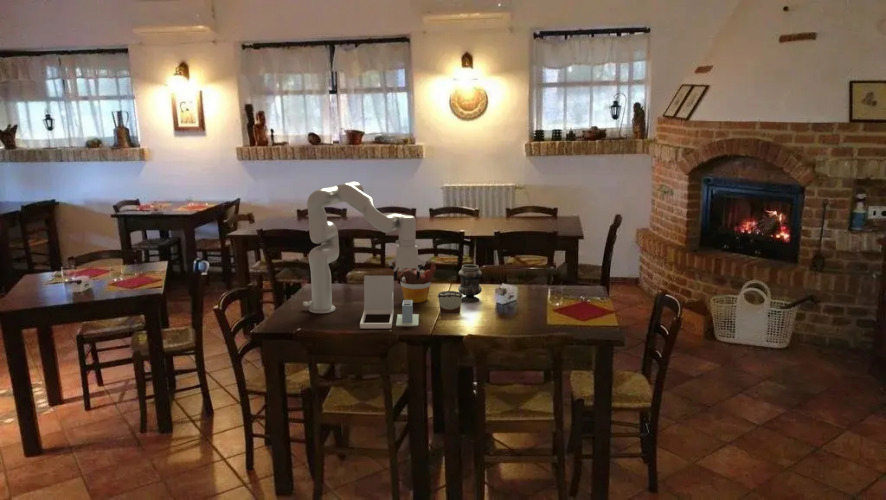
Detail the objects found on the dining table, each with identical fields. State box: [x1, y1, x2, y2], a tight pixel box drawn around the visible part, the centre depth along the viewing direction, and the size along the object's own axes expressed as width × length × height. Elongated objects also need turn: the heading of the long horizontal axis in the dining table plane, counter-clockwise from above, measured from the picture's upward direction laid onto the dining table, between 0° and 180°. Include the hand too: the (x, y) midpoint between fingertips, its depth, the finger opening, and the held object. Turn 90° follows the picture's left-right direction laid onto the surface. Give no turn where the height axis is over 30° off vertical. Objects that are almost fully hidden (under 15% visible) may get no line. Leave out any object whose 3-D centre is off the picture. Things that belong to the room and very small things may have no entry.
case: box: [359, 275, 395, 329], centre depth 316 cm, size 14×26×18 cm, turn 1°
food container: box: [437, 290, 464, 315], centre depth 328 cm, size 12×6×10 cm, turn 92°
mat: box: [395, 313, 420, 327], centre depth 316 cm, size 10×16×1 cm, turn 1°
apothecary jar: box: [457, 264, 483, 304], centre depth 348 cm, size 12×12×18 cm
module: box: [401, 299, 414, 322], centre depth 315 cm, size 4×9×8 cm, turn 1°
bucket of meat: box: [397, 262, 437, 304], centre depth 347 cm, size 20×16×20 cm
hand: (406, 279), depth 312 cm, fingers open, 9 cm apart
